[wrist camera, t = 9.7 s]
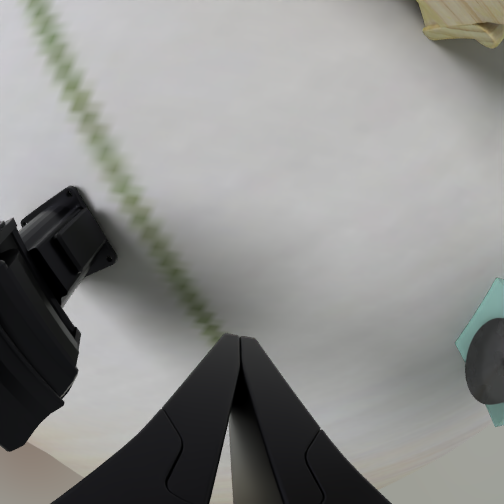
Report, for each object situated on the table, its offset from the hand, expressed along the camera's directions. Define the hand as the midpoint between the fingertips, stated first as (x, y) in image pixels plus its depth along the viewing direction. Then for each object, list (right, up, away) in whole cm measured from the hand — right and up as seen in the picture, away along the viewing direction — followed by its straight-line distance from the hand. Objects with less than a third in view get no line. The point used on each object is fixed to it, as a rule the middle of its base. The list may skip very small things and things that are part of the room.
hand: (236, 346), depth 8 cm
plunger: (+25, -5, +14) cm, 30 cm away
